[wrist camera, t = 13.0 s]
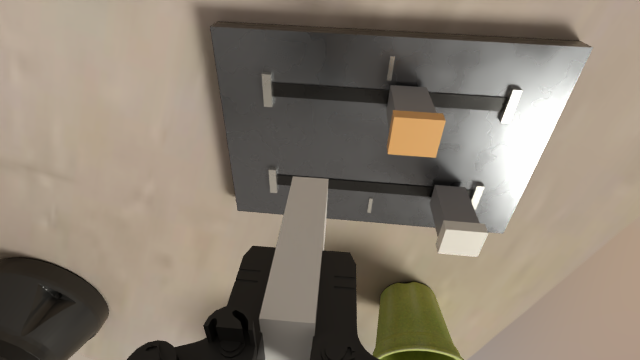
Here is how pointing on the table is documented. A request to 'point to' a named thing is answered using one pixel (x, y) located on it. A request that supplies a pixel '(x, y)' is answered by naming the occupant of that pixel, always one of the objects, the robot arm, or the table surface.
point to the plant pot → (412, 325)
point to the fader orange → (413, 122)
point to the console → (371, 120)
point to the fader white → (456, 222)
